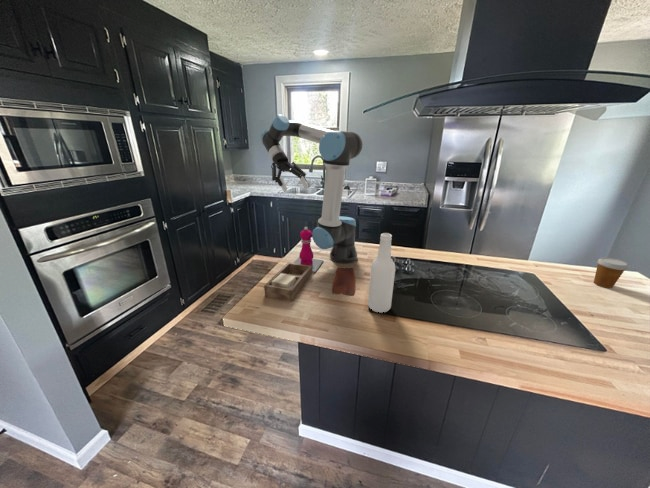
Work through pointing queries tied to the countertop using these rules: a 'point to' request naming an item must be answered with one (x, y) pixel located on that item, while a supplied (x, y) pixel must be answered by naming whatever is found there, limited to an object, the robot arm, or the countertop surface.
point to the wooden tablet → (344, 281)
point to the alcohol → (382, 277)
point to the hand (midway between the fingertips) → (296, 189)
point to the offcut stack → (284, 281)
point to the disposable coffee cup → (609, 272)
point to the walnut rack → (296, 288)
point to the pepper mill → (306, 247)
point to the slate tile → (315, 264)
